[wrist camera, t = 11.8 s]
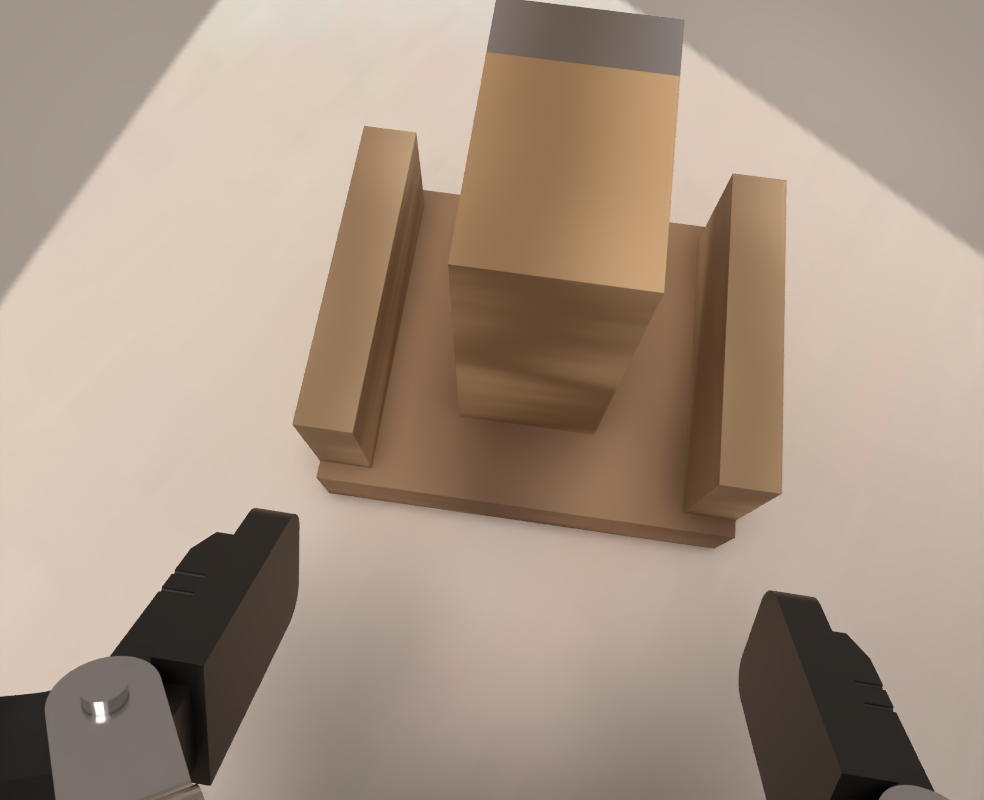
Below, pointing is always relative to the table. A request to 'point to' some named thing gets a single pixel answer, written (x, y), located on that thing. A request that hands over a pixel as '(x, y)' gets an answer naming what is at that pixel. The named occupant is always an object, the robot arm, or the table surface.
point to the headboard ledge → (534, 450)
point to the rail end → (563, 211)
